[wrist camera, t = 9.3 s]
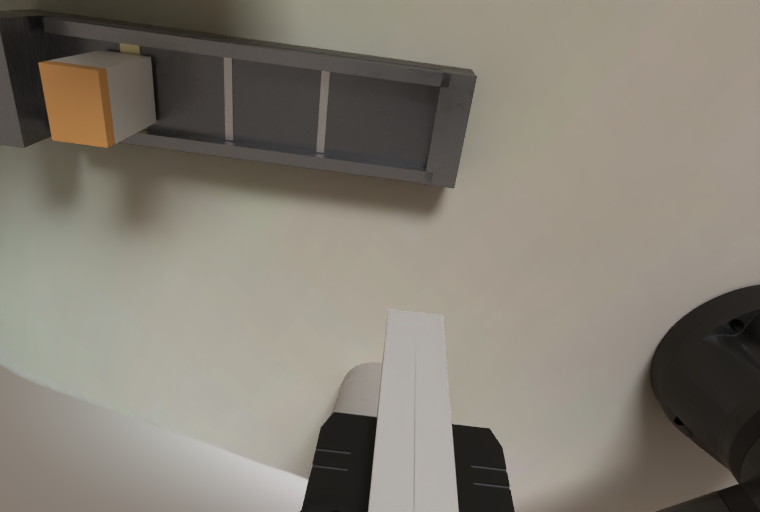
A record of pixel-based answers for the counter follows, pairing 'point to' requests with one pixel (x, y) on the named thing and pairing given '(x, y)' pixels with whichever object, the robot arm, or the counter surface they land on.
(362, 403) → the dixie cup
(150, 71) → the fader tab
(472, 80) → the tray
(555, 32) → the counter surface
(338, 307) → the counter surface
